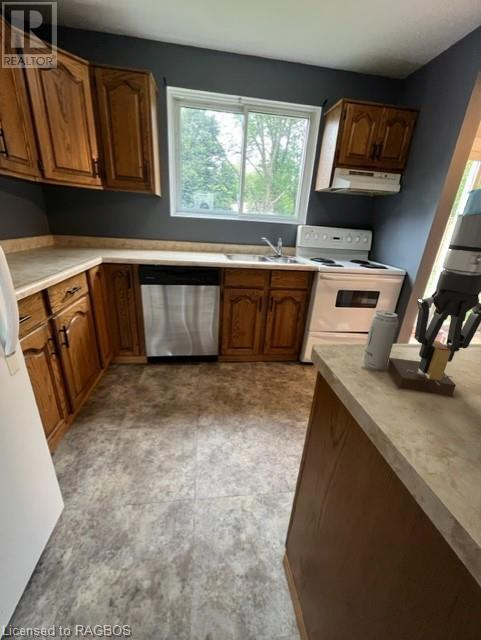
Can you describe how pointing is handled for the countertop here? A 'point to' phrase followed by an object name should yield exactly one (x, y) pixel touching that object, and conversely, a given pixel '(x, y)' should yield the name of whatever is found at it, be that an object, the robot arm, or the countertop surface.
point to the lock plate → (418, 378)
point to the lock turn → (438, 361)
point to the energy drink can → (380, 340)
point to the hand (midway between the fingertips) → (430, 371)
